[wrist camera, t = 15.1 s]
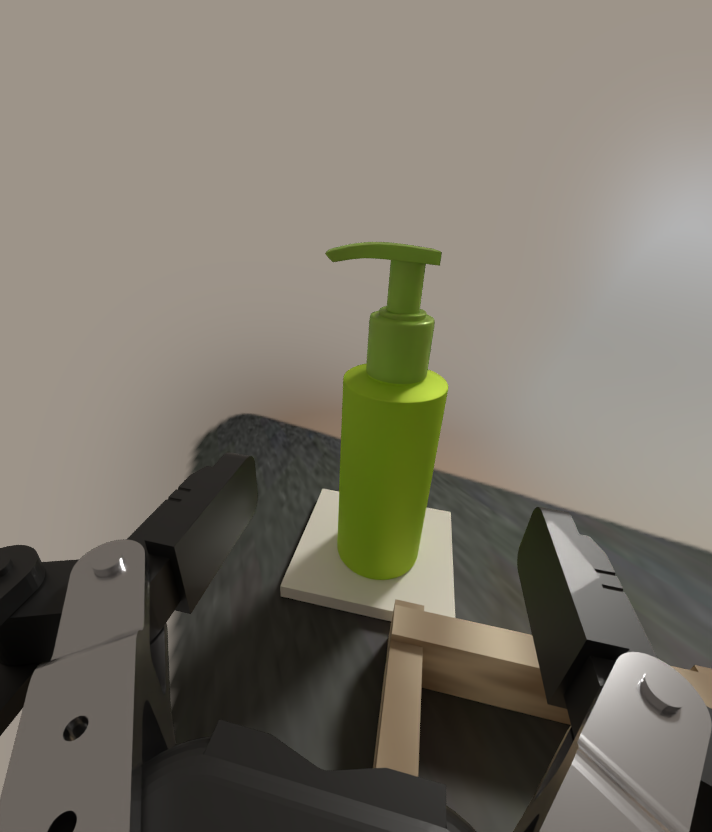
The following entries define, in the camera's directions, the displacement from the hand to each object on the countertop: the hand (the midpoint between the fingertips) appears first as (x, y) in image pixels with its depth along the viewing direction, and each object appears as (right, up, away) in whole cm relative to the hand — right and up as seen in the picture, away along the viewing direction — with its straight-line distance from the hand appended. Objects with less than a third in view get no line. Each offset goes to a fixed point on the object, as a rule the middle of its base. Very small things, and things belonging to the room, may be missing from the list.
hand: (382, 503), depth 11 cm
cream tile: (+1, -8, +17) cm, 19 cm away
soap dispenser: (0, -7, +16) cm, 18 cm away
